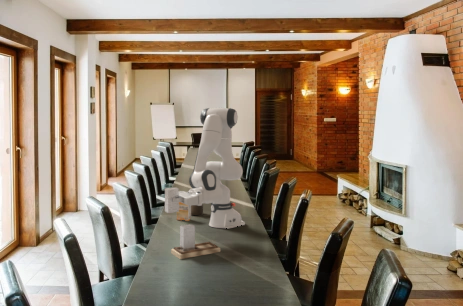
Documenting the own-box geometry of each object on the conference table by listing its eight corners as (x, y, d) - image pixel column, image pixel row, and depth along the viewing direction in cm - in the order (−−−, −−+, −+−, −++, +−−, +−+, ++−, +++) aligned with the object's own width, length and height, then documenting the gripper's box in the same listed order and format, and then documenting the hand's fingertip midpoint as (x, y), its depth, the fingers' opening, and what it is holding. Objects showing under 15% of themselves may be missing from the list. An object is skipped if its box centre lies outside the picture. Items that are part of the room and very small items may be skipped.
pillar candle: (202, 216, 290) (203, 193, 288) (187, 215, 289) (188, 193, 288) (203, 212, 299) (203, 191, 298) (189, 212, 299) (189, 190, 298)
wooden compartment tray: (210, 246, 226) (210, 241, 226) (220, 251, 218) (220, 246, 217) (171, 253, 214) (171, 247, 214) (180, 259, 206) (180, 253, 206)
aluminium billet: (175, 210, 230) (175, 187, 229) (178, 211, 226) (178, 188, 225) (164, 211, 227) (164, 188, 225) (168, 212, 223) (168, 189, 222)
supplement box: (176, 220, 277) (176, 199, 276) (179, 218, 282) (179, 198, 281) (188, 221, 275) (188, 200, 274) (191, 219, 280) (191, 199, 278)
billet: (190, 247, 216) (191, 224, 215) (194, 250, 213) (194, 225, 212) (179, 249, 213) (180, 225, 212) (183, 252, 210) (183, 227, 209)
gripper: (185, 187, 241) (162, 189, 234) (203, 194, 224) (178, 196, 217) (185, 198, 242) (162, 201, 234) (203, 206, 225) (178, 209, 217)
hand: (170, 199), depth 225 cm, fingers closed on aluminium billet, 4 cm apart
